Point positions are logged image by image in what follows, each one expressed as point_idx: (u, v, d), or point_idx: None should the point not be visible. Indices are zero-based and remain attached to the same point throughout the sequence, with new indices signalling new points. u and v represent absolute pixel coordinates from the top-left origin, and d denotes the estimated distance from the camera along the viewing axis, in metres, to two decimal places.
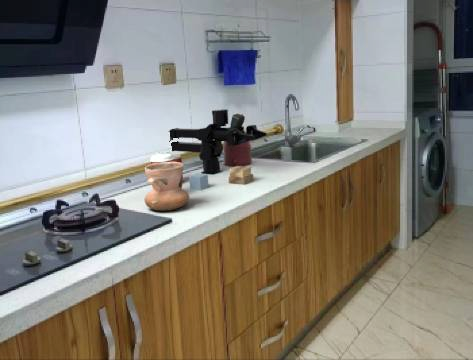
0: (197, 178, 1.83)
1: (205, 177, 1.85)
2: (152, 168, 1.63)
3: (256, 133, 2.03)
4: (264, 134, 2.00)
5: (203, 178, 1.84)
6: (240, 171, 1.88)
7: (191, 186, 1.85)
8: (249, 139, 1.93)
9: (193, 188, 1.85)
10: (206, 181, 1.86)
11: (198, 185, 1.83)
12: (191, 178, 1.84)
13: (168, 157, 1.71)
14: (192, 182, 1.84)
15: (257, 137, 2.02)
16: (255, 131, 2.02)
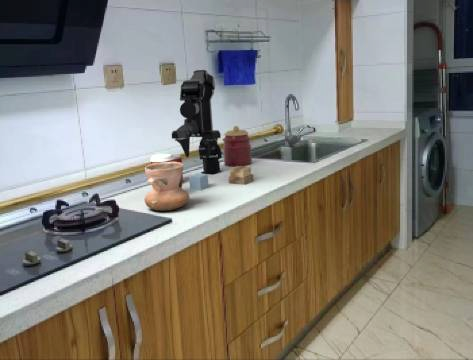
0: (197, 178, 1.83)
1: (205, 177, 1.85)
2: (152, 168, 1.63)
3: None
4: None
5: (203, 178, 1.84)
6: (240, 171, 1.88)
7: (191, 186, 1.85)
8: None
9: (193, 188, 1.85)
10: (206, 181, 1.86)
11: (198, 185, 1.83)
12: (191, 178, 1.84)
13: (168, 157, 1.71)
14: (192, 182, 1.84)
15: None
16: None
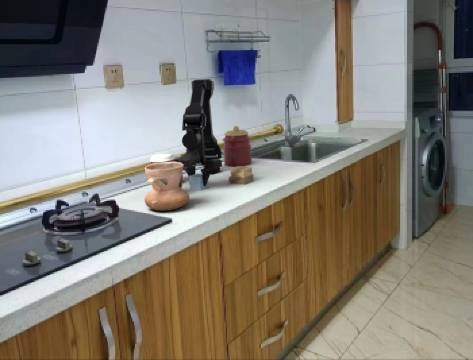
0: (197, 178, 1.83)
1: None
2: (152, 168, 1.63)
3: None
4: None
5: None
6: (241, 171, 1.88)
7: (191, 186, 1.85)
8: None
9: (193, 188, 1.85)
10: None
11: (198, 185, 1.83)
12: (191, 178, 1.84)
13: (168, 157, 1.71)
14: (192, 181, 1.84)
15: None
16: None
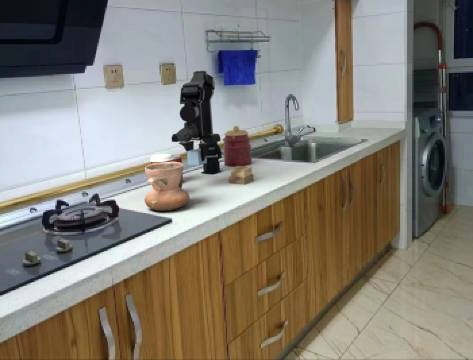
0: (195, 153, 1.80)
1: None
2: (152, 168, 1.63)
3: None
4: None
5: None
6: (241, 171, 1.88)
7: (189, 161, 1.83)
8: None
9: (191, 163, 1.82)
10: None
11: (196, 160, 1.81)
12: (189, 153, 1.82)
13: (168, 157, 1.71)
14: (190, 156, 1.82)
15: None
16: None
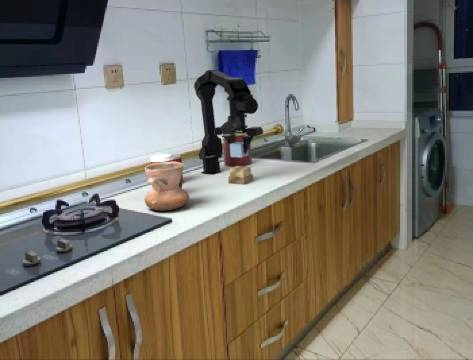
0: (238, 145, 1.86)
1: None
2: (152, 168, 1.63)
3: None
4: None
5: (243, 145, 1.87)
6: (240, 171, 1.88)
7: (232, 153, 1.89)
8: None
9: (234, 155, 1.88)
10: None
11: (239, 152, 1.87)
12: (232, 145, 1.88)
13: (168, 157, 1.71)
14: (233, 149, 1.88)
15: None
16: None
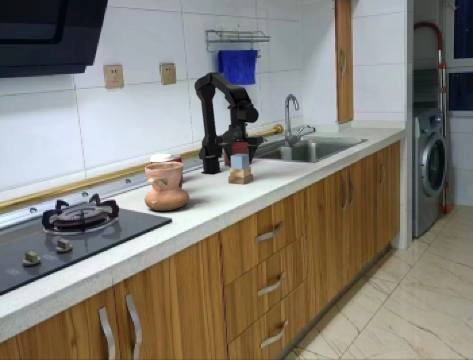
0: (239, 157, 1.88)
1: (246, 157, 1.90)
2: (152, 168, 1.63)
3: None
4: None
5: (244, 157, 1.89)
6: (241, 171, 1.88)
7: (232, 165, 1.90)
8: None
9: (234, 167, 1.90)
10: (247, 161, 1.91)
11: (240, 164, 1.88)
12: (233, 157, 1.89)
13: (168, 157, 1.71)
14: (234, 161, 1.89)
15: None
16: None
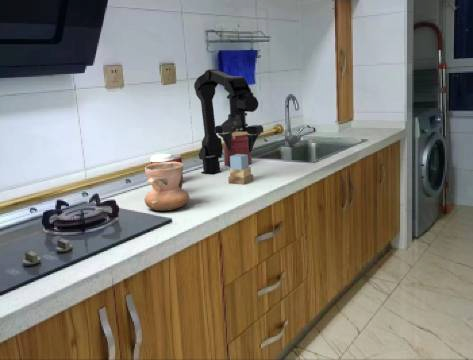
0: (238, 158, 1.88)
1: (245, 157, 1.90)
2: (152, 168, 1.63)
3: None
4: None
5: (243, 158, 1.89)
6: (241, 171, 1.88)
7: (232, 166, 1.90)
8: None
9: (234, 168, 1.90)
10: (246, 161, 1.91)
11: (239, 165, 1.88)
12: (232, 158, 1.89)
13: (168, 157, 1.71)
14: (233, 161, 1.89)
15: None
16: None
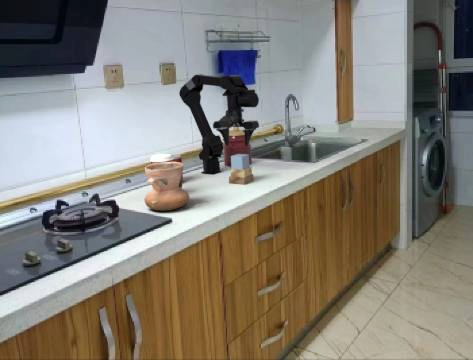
0: (239, 158, 1.87)
1: (246, 157, 1.90)
2: (152, 168, 1.63)
3: None
4: None
5: (244, 158, 1.88)
6: (241, 171, 1.88)
7: (233, 166, 1.90)
8: None
9: (235, 167, 1.89)
10: (247, 161, 1.90)
11: (240, 164, 1.88)
12: (233, 158, 1.89)
13: (168, 157, 1.71)
14: (234, 161, 1.89)
15: None
16: None
